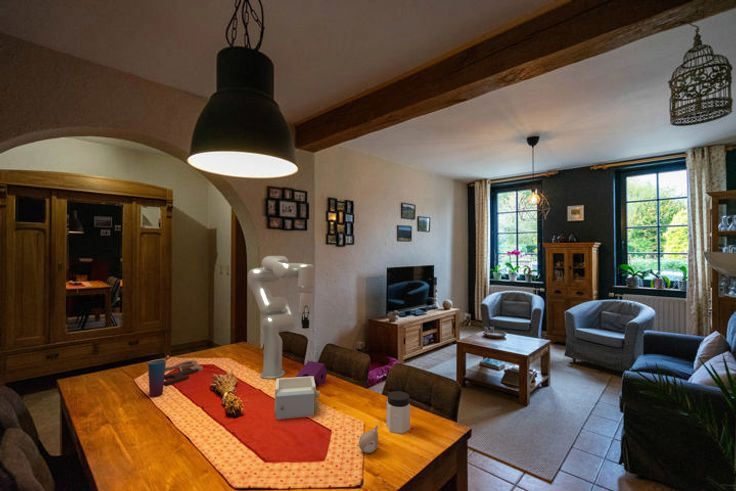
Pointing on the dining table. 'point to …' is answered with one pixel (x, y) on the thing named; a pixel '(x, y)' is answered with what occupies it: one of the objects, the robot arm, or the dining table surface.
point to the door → (295, 404)
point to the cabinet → (297, 387)
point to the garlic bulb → (369, 441)
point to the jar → (398, 412)
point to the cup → (156, 377)
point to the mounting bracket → (314, 372)
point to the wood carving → (181, 372)
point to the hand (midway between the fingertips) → (305, 326)
